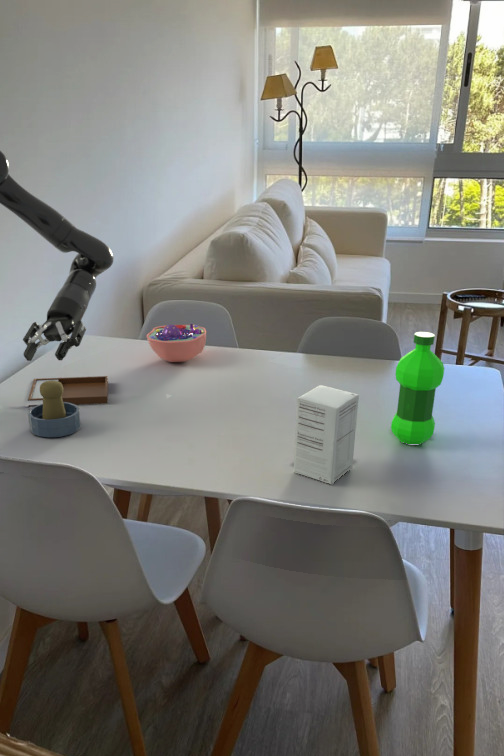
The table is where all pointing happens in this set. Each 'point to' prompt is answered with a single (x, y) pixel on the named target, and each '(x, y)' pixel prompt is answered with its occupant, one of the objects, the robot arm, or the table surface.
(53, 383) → the cork
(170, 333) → the cell model
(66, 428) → the bowl
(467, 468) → the table surface
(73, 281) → the robot arm
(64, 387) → the tray
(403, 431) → the plastic bottle
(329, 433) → the supplement box
